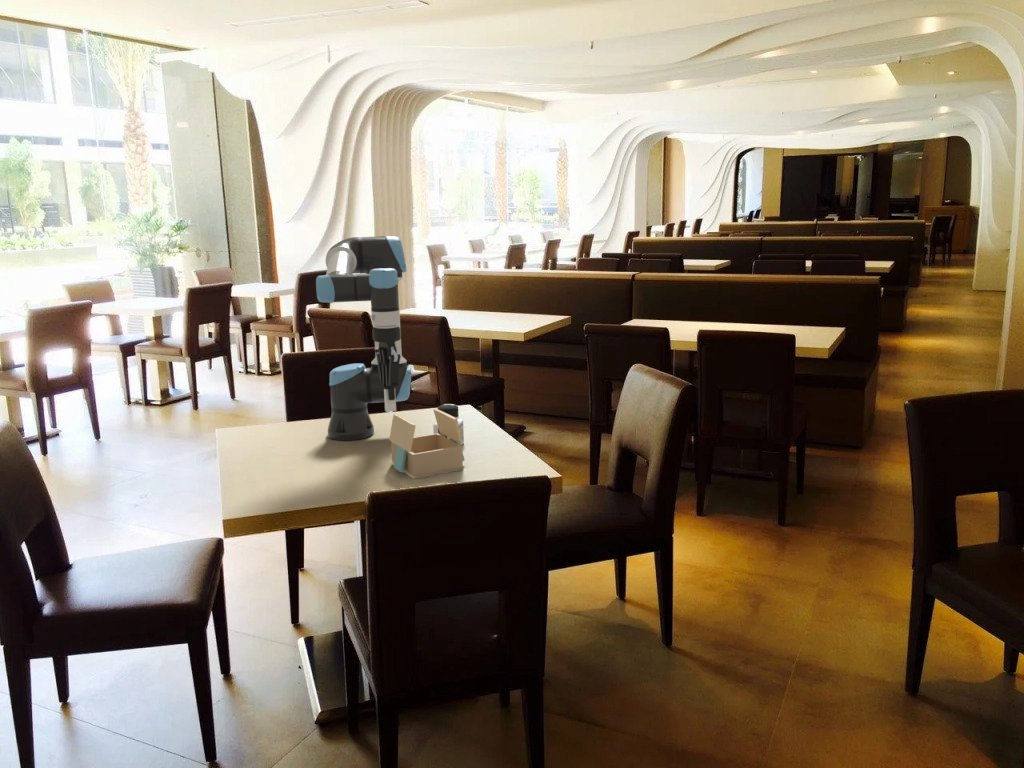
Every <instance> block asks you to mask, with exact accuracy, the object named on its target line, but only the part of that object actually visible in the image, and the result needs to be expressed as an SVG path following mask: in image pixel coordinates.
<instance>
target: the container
mask: <svg viewBox="0 0 1024 768" xmlns="http://www.w3.org/2000/svg"><path fill="white" fill-rule="evenodd" d="M436 409H438V410H440V411H442V412H445V413H447V414H449V415H451V416H453V417H455V418H457V422H458V425H459V429H460V433H461V436H462V440H463V443H460V445H461V446H462V445H463V444H464V443H465V437H464V436H465V435H464V419H462V418H461V419H459V406H458V405H456V404H452V403H445V404H440V405H438V407H437V408H436ZM432 427H433V434H436V433H438V434H440V435H442V436H444V437H446V438H448V439H450V438H449V437H448V436H446V435H444V434H442V433H440V431H439V428H438V424H437V421H436V422H435V423H434V424H433V425H432Z"/></svg>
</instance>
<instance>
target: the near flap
mask: <svg viewBox="0 0 1024 768" xmlns="http://www.w3.org/2000/svg"><path fill="white" fill-rule="evenodd" d="M415 430H416V424H414V423H413V422H411V421H409V420H407V419H405V418H403V417H401V416H400V415H398V414H395V413H394V414H393V416H392V422H391V427H390V434H389V438H388V439H389V441H390V442H391V441H392V442H393V443H395V444H396V445H398V447H397V452H396V458H395V464H394V465H393V468H394V469H395V470H397V471H398V472H399V473H404V472H403V470H404V464H405V459H406V453H407V451H408V452H411V448H412V443H413V437H415Z"/></svg>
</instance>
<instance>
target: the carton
mask: <svg viewBox="0 0 1024 768" xmlns="http://www.w3.org/2000/svg"><path fill="white" fill-rule="evenodd" d="M397 447H398V445H396V444H395V443H393V442H392V441H390V448H391V451H390V453H391V464H392V465H393V466H394V464H395V458H396V452H397ZM462 452H463V446H462V445H459V444H457V443H455V442H453V441H451V440H450V439H448V438H446V437H444V436H442V435H440V434H438V433H436V434H434V433H431V434H425V435H419V436H414V437H413V443H412V448H411V452H408V451H407V453H406V459H405V464H404V470H403V472H402V473H404V474H406V475H407V476H409V477H410V478H412V479H413V480H417V479H422V478H428V477H433V476H438V475H442V474H449V473H453V472H458V471H463V470H464V461H463V457H462Z"/></svg>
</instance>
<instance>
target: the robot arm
mask: <svg viewBox="0 0 1024 768" xmlns="http://www.w3.org/2000/svg"><path fill="white" fill-rule="evenodd" d="M403 247H404V246H403V243H402V240H401V238H400V237H398V236H392V235H391V236H389V235H382V236H353V237H348V238H345V239H342V240H340V241H338V242H337V243H335V244H334V245H332V246H331V247H330V248H329V249H328V251H327V253H326V255H325V266H326V268H327V269H326V274H324V275H318V276H316V279H315V285H316V287H315V289H316V298H317V301H318V302H320V303H329V304H334V303H345V302H346V303H347V302H348V303H349V302H352V303H354V302H370V306H371V307H370V309H371V311H370V312H371V315H369V318H370V319H371V325H372V326H373V327H372V341H374V352H375V356H374V358H373V360H372V361H371V362H370V363H371V365H370V366H371V367H366V365H365V364H364V363H361V362H360V363H359V362H358V363H349V364H345V365H339V366H337V367H335V368H333V369H332V370H331V371H330V372H329V383H328V385H329V392H330V405H331V416H330V420H329V424H328V426H327V427H328V428H327V437H328V439H331V440H336V441H355V440H361V439H362V440H363V439H366V438H369V437H372V436H373V435H374V434H375V426H374V424H373V421H372V419H371V416H370V414H369V412H368V404H373V403H374V404H375V403H384V411H385V412H387V413H390V412H396V411H397V402H403V401H407V400H408V399H409V397H410V392H411V384H412V383H411V382H412V365H408V363H407V361H408V360H407V359H406V358H405V357H404V356H403V354H402V351H403V350H402V338H401V337H402V335H401V334H402V331H401V315H400V312H401V311H400V297H399V295H400V294H399V292H400V291H399V283H400V282H401V280H402V279H403V274H404V273H406V272H407V266H406V258H405V253H404V249H403Z"/></svg>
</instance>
